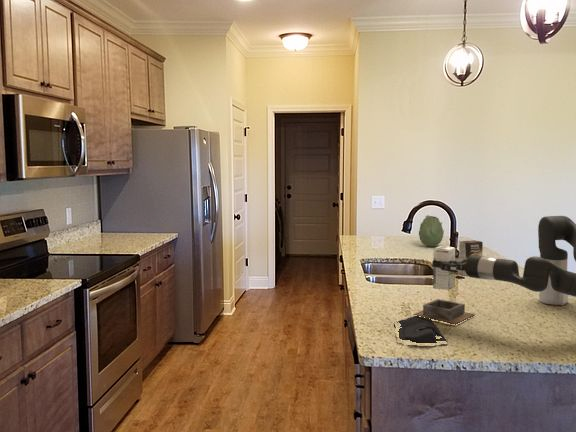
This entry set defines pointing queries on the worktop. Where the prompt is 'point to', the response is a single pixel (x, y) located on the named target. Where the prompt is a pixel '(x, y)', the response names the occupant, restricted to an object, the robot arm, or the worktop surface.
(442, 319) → the socket board
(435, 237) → the cabbage
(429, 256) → the worktop surface
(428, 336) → the dark slate chunk
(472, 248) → the coffee box
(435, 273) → the syrup box
